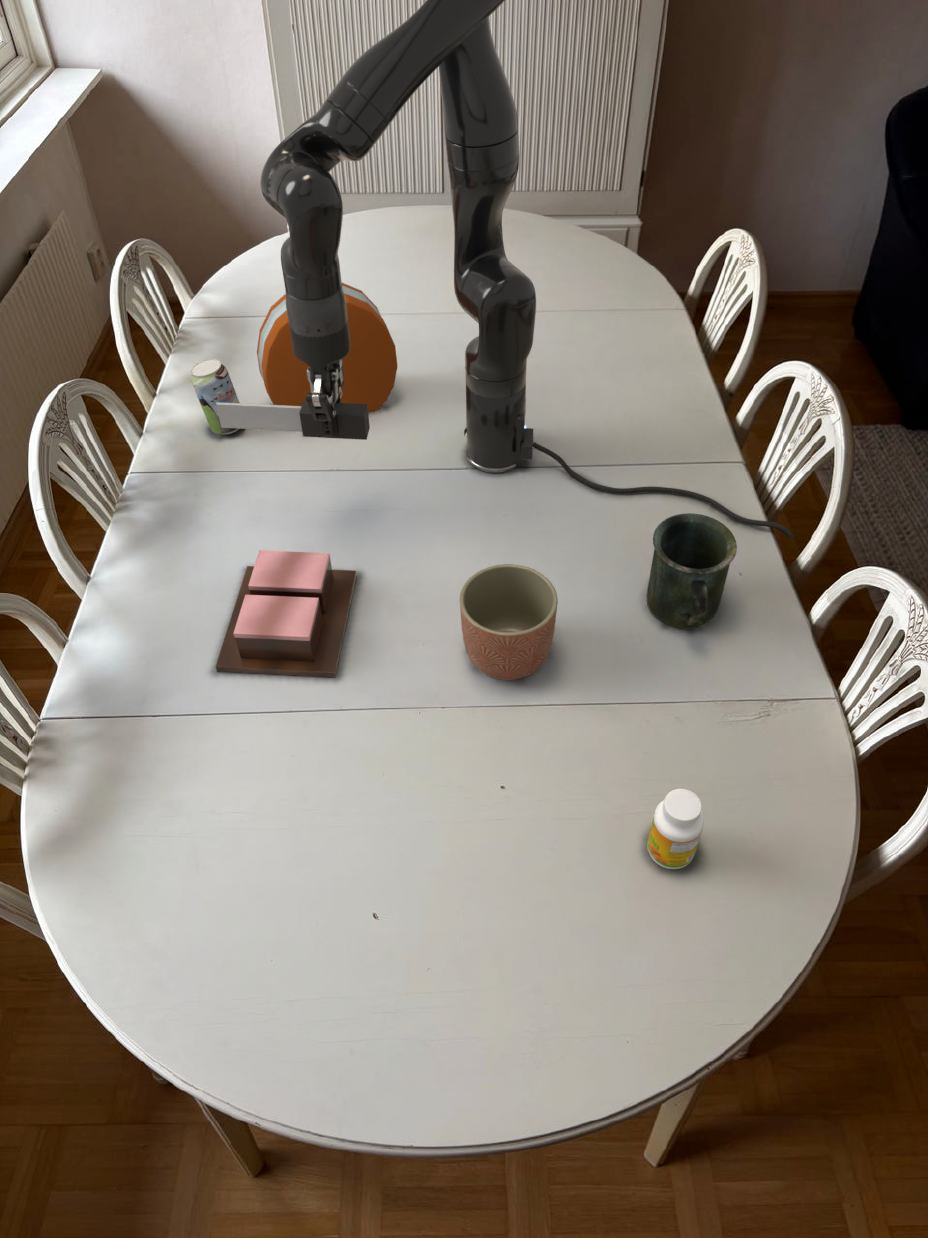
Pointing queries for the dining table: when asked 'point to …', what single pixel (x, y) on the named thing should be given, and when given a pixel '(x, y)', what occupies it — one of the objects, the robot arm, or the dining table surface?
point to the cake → (288, 616)
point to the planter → (508, 620)
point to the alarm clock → (363, 366)
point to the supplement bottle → (676, 829)
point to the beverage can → (213, 391)
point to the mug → (689, 569)
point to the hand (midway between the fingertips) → (332, 428)
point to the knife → (294, 418)
